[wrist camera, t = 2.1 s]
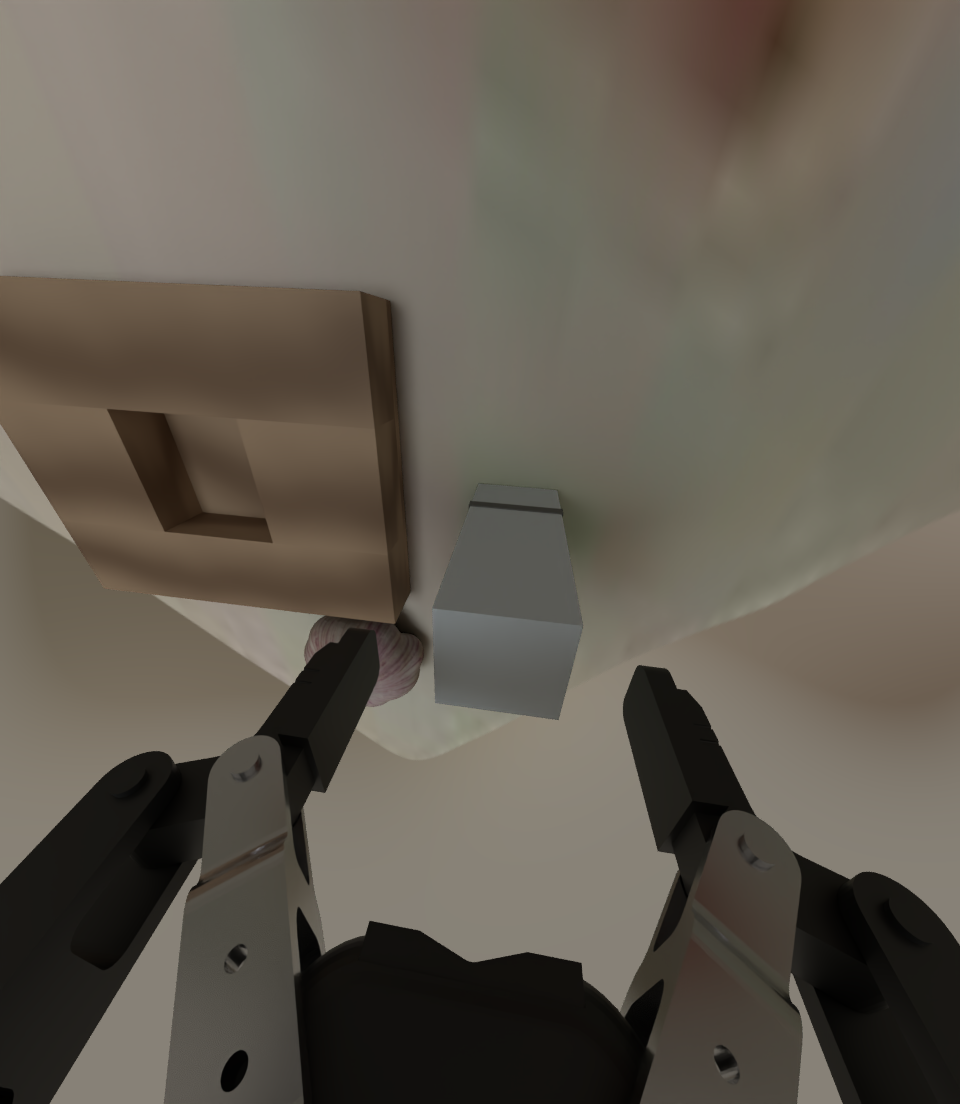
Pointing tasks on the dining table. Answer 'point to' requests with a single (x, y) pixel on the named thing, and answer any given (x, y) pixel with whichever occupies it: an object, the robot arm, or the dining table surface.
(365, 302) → the board
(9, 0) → the dining table surface
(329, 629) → the garlic bulb
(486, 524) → the peg
